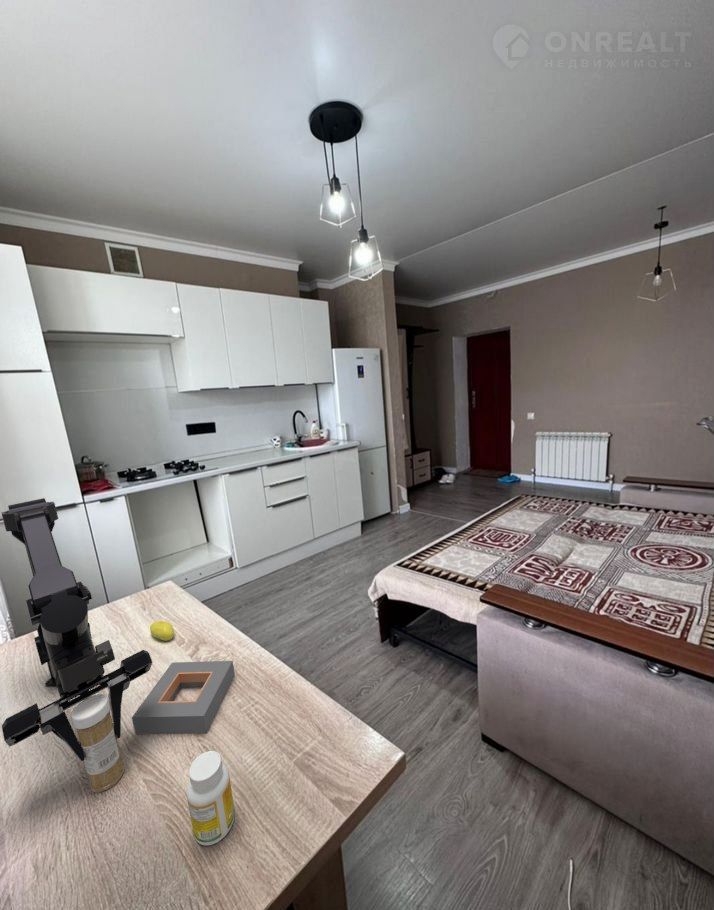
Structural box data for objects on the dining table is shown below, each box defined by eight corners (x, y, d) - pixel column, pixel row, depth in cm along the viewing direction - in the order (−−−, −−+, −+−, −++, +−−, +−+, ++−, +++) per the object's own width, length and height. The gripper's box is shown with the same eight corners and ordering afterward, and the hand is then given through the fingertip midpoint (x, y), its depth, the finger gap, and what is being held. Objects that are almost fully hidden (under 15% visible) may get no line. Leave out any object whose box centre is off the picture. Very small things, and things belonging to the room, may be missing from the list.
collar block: (135, 734, 65) (131, 717, 65) (174, 677, 78) (172, 662, 77) (206, 733, 64) (203, 715, 64) (234, 675, 77) (232, 660, 77)
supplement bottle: (206, 857, 47) (194, 796, 45) (186, 827, 50) (175, 769, 49) (243, 818, 51) (233, 761, 49) (222, 793, 54) (213, 738, 53)
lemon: (162, 647, 88) (159, 632, 87) (147, 635, 93) (144, 621, 92) (179, 637, 91) (177, 623, 90) (164, 626, 96) (161, 613, 95)
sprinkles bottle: (122, 758, 61) (106, 687, 59) (126, 779, 58) (109, 705, 55) (88, 777, 58) (70, 704, 56) (91, 801, 55) (71, 724, 52)
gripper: (-15, 671, 50) (11, 796, 44) (138, 606, 63) (173, 696, 57) (-2, 691, 57) (21, 802, 51) (133, 629, 70) (164, 711, 64)
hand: (101, 748), depth 56 cm, fingers closed on sprinkles bottle, 4 cm apart
